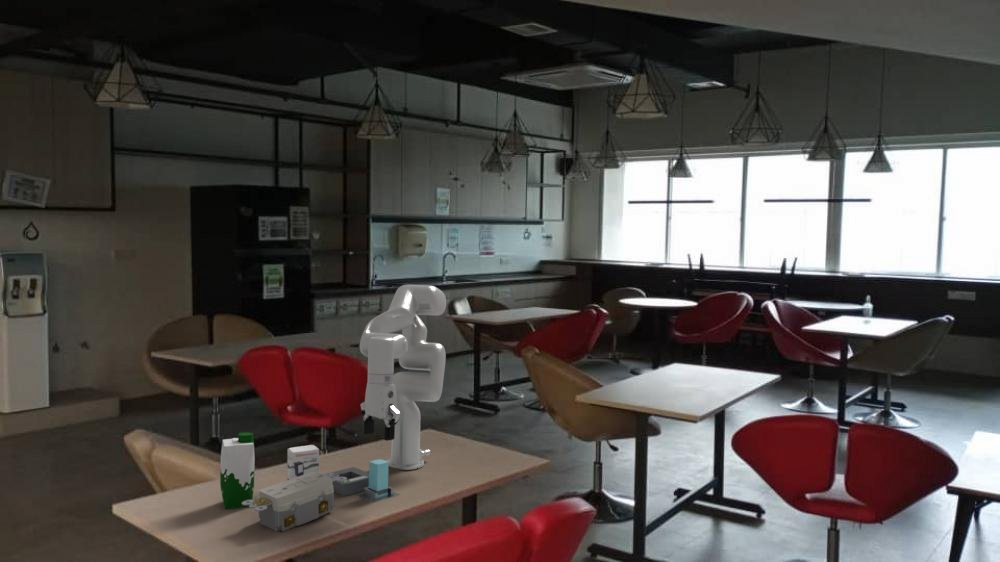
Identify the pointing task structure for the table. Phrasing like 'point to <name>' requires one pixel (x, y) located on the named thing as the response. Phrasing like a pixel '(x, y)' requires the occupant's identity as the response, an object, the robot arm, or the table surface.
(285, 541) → the table surface
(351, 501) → the table surface
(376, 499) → the holster
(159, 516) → the table surface
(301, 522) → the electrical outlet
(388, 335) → the robot arm
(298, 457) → the ink box
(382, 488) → the plug
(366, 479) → the port
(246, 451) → the milk carton
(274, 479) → the table surface
